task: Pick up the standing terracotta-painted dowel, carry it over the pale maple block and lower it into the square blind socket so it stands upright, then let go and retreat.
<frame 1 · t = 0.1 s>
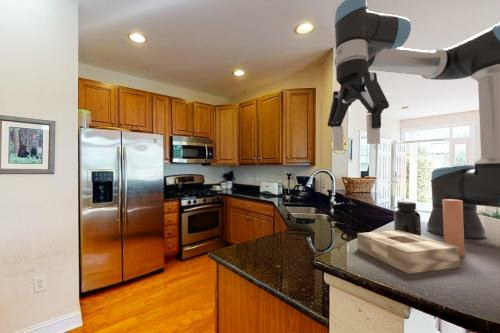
hand: (354, 147, 58), 28 cm above the countertop, fingers open, 13 cm apart
bore block: (403, 257, 58), on the countertop
terracotta dowel: (454, 253, 60), on the countertop
supplement bottle: (407, 241, 71), on the countertop
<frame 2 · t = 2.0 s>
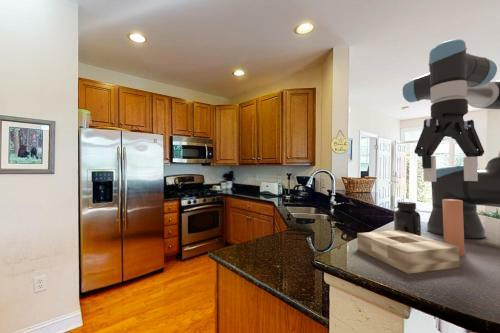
hand: (450, 181, 61), 19 cm above the countertop, fingers open, 13 cm apart
nothing on the countertop moved.
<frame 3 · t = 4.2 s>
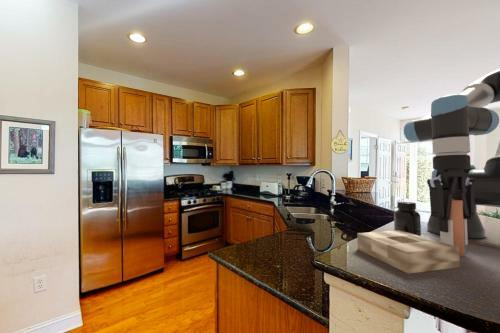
hand: (453, 243, 60), 3 cm above the countertop, fingers closed on terracotta dowel, 4 cm apart
terracotta dowel: (454, 253, 60), on the countertop, touching gripper
everything else where it was.
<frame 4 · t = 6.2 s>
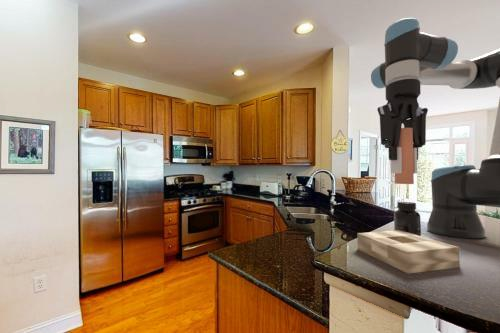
hand: (403, 173, 59), 21 cm above the countertop, fingers closed on terracotta dowel, 4 cm apart
terracotta dowel: (404, 183, 59), point 19 cm above the countertop, touching gripper
everything else where it was.
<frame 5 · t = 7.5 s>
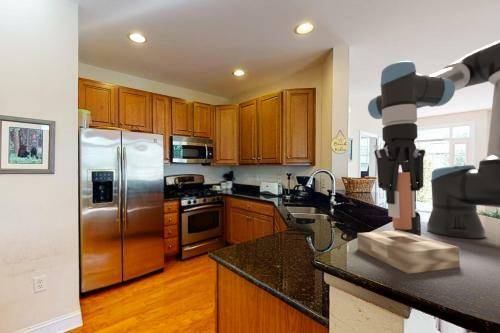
hand: (401, 216, 58), 10 cm above the countertop, fingers closed on terracotta dowel, 4 cm apart
terracotta dowel: (402, 227, 58), point 8 cm above the countertop, touching gripper
everything else where it was.
when the fingers open (6 cm above the countertop, at t = 8.6 s): terracotta dowel drops 1 cm, resting on bore block.
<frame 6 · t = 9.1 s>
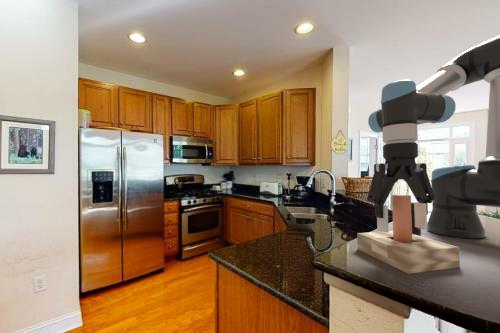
hand: (402, 229, 58), 7 cm above the countertop, fingers open, 11 cm apart
terracotta dowel: (402, 250, 58), point 2 cm above the countertop, touching bore block
everything else where it was.
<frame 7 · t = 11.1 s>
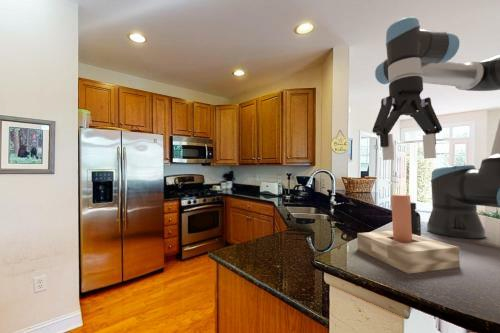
hand: (409, 159, 61), 25 cm above the countertop, fingers open, 13 cm apart
nothing on the countertop moved.
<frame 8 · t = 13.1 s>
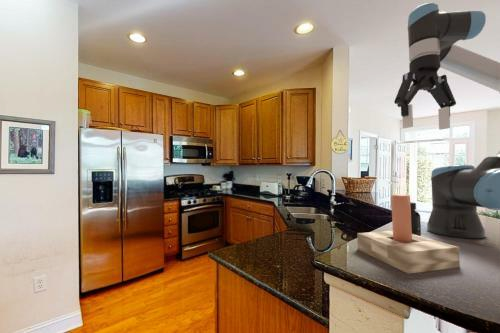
hand: (426, 128, 69), 35 cm above the countertop, fingers open, 13 cm apart
nothing on the countertop moved.
at the end: terracotta dowel 0.0 cm off-centre on the bore block, point 1.6 cm above the bore block's base; terracotta dowel tilted 1°; the gripper is holding nothing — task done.
